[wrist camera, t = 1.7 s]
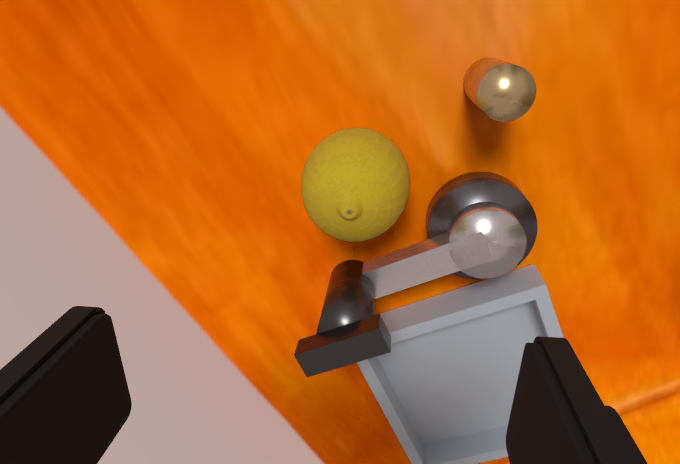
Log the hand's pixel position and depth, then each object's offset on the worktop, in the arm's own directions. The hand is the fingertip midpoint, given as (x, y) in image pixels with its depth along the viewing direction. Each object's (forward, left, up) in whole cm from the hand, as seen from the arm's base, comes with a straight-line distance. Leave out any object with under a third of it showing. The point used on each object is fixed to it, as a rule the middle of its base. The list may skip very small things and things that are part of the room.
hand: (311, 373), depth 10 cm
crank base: (-3, -5, -18) cm, 20 cm away
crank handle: (-6, -1, -16) cm, 17 cm away
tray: (-17, -1, -18) cm, 25 cm away
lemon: (0, 0, -19) cm, 19 cm away
